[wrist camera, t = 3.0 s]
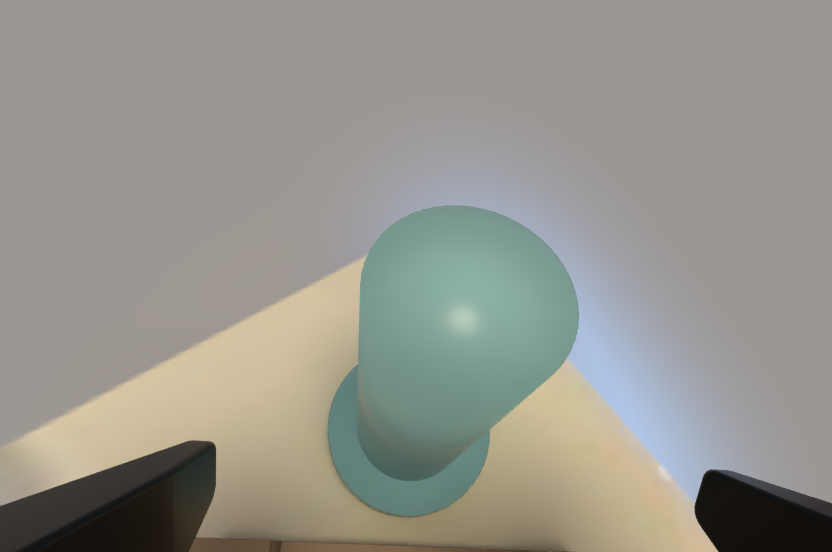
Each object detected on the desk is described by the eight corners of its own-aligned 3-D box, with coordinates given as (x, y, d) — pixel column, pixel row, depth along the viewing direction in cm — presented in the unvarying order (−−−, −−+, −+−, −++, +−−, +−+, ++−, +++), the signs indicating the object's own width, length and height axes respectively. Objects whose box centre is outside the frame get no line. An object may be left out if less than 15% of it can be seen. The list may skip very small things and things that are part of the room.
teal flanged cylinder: (498, 387, 21) (643, 226, 10) (458, 545, 17) (623, 543, 7) (367, 336, 21) (379, 136, 11) (300, 478, 18) (223, 378, 7)
